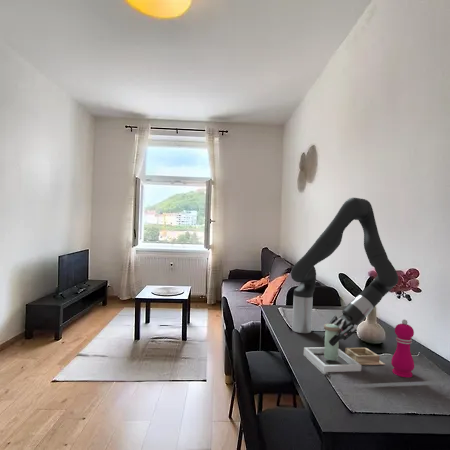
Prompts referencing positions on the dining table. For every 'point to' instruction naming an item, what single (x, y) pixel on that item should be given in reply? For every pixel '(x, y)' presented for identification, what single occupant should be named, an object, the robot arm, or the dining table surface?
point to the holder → (363, 356)
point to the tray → (331, 368)
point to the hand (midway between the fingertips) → (327, 341)
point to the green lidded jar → (329, 350)
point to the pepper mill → (403, 350)
